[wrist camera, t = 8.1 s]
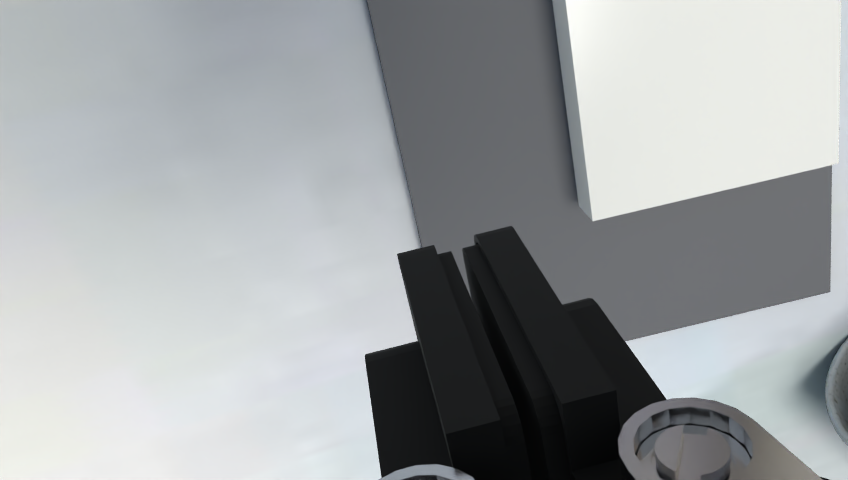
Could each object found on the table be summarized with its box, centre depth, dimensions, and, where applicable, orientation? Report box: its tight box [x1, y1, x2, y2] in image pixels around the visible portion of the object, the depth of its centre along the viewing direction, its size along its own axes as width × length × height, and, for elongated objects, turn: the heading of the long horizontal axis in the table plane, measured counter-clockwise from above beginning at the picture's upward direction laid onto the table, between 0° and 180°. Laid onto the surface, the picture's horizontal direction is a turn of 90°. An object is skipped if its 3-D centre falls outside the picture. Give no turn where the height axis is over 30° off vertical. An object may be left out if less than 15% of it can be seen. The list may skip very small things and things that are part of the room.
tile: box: [552, 0, 841, 221], centre depth 26 cm, size 9×2×9 cm
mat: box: [367, 0, 832, 341], centre depth 28 cm, size 16×16×1 cm
